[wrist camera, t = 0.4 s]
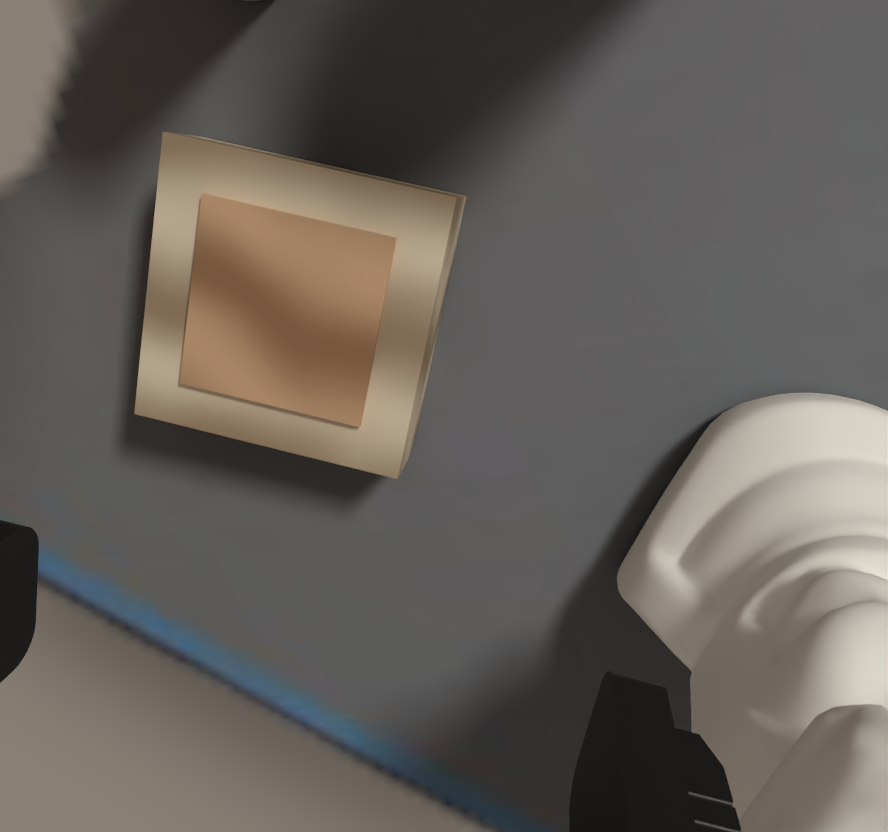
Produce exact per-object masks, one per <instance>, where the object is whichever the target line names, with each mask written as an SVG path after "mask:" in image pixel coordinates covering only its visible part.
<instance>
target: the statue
mask: <svg viewBox="0 0 888 832" xmlns="http://www.w3.org/2000/svg"><path fill="white" fill-rule="evenodd" d="M617 585H618V591H619V592H620V594H621V596H622V598H623V599H624V600H625V601H626V602H627V603H628V604H629V605H630V606H631V607H632V608H633V609H634V611H635V612H636V613H637V614H638V615H639V616H640V617H641V618H642V619H643V621H644V622H645V623H646V624H647V625H648V626H649V627H650V628H651V629H652V630H653V631H654V632H655V634H656V635H657V636H658V637H659V638H660V639H661V640H662V641H663V642H664V643H665V645H666V646H667V647H668V648H669V649H670V650H671V651H672V652H673V653H674V654H675V655H676V656H677V657H678V658H679V659H680V660H681V661H682V662H683V663H684V664H685V665H686V666H687V667H688V668H689V669H690V671H691V672H692V674H691V677H690V693H691V726H692V727H691V732H692V733H696V734H700V736H701V737H702V739H703V740H704V741H705V743H706V744H707V745H708V747H709V748H710V749H711V751H712V752H713V753H714V755H715V756H716V757H717V759H718V760H719V761H720V763H721V764H722V765H723V767H724V770H725V773H726V777H727V780H728V784H729V787H730V791H731V794H732V798H733V807H735V809H736V812H737V816H738V819H739V823H740V826H741V832H888V411H887V410H884V409H882V408H879V407H877V406H874V405H871V404H868V403H865V402H862V401H859V400H855V399H850V398H846V397H841V396H836V395H831V394H821V393H788V394H778V395H773V396H768V397H764V398H759V399H755V400H752V401H748V402H744V403H741V404H738V405H736V406H735V407H733V408H731V409H729V410H727V411H725V412H723V413H722V414H721V415H720V416H719V417H717V418H716V419H715V420H714V421H713V422H712V423H711V424H710V425H709V426H708V428H707V429H706V430H705V432H704V433H703V434H702V436H701V437H700V439H699V440H698V442H697V443H696V445H695V446H694V448H693V449H692V451H691V452H690V454H689V455H688V457H687V458H686V460H685V461H684V463H683V464H682V466H681V467H680V468H679V470H678V471H677V473H676V474H675V476H674V477H673V479H672V480H671V482H670V484H669V485H668V487H667V488H666V490H665V492H664V493H663V495H662V496H661V498H660V500H659V501H658V503H657V505H656V506H655V508H654V509H653V511H652V513H651V514H650V516H649V518H648V520H647V521H646V523H645V525H644V526H643V528H642V530H641V531H640V533H639V535H638V536H637V538H636V540H635V542H634V543H633V545H632V547H631V548H630V550H629V552H628V554H627V555H626V557H625V559H624V560H623V562H622V564H621V566H620V568H619V570H618V574H617Z"/></svg>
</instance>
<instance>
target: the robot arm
mask: <svg viewBox="0 0 888 832" xmlns="http://www.w3.org/2000/svg"><path fill="white" fill-rule="evenodd" d="M38 551H39V542H38V537H37V534H36V532H35V531H34V530H33V529H32V528H30V527H26V526H22V525H18V524H14V523H10V522H6V521H2V520H0V682H2V681H3V680H4V679H5V678H6V677H7V676H8V675H9V674H10V673H11V672H12V671H13V670H14V669H15V668H16V667H17V666H18V665H19V663H20V662H21V660H22V659H23V658H24V656H25V654H26V652H27V650H28V648H29V646H30V643H31V641H32V638H33V634H34V630H35V623H36V599H37V576H38ZM569 819H570V832H741V826H740V823H739V819H738V816H737V812H736V809H735V807H733V798H732V794H731V791H730V787H729V784H728V780H727V777H726V773H725V770H724V767H723V765H722V764H721V763H720V761H719V760H718V759H717V757H716V756H715V755H714V753H713V752H712V751H711V749H710V748H709V747H708V745H707V744H706V743H705V741H704V740H703V739H702V737H701V736H700V734H696V733H692V732H688V731H684V730H680V729H676V728H674V723H673V718H672V714H671V709H670V704H669V700H668V695H667V691H666V688H665V686H664V685H662V684H658V683H654V682H650V681H646V680H642V679H638V678H634V677H630V676H626V675H622V674H618V673H614V672H609V671H608V672H607V673H606V674H605V676H604V678H603V680H602V683H601V686H600V689H599V692H598V696H597V699H596V702H595V705H594V709H593V712H592V715H591V719H590V722H589V725H588V729H587V732H586V735H585V738H584V742H583V745H582V748H581V752H580V755H579V758H578V762H577V765H576V769H575V773H574V778H573V784H572V790H571V798H570V812H569Z"/></svg>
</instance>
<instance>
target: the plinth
mask: <svg viewBox="0 0 888 832" xmlns="http://www.w3.org/2000/svg"><path fill="white" fill-rule="evenodd" d="M466 197H467V196H463V195H459V194H455V193H450V192H446V191H441V190H437V189H432V188H428V187H423V186H419V185H415V184H410V183H406V182H401V181H397V180H392V179H388V178H383V177H379V176H374V175H370V174H366V173H361V172H357V171H352V170H348V169H343V168H339V167H334V166H330V165H326V164H321V163H317V162H312V161H308V160H303V159H299V158H294V157H290V156H285V155H281V154H277V153H272V152H268V151H263V150H259V149H254V148H250V147H245V146H241V145H237V144H232V143H228V142H223V141H219V140H214V139H210V138H205V137H199V136H192V135H185V134H177V133H170V132H163V135H162V144H161V154H160V164H159V174H158V184H157V194H156V204H155V214H154V223H153V233H152V243H151V253H150V263H149V273H148V283H147V293H146V303H145V312H144V322H143V332H142V342H141V352H140V362H139V372H138V382H137V391H136V401H135V411H134V414H137V415H141V416H145V417H149V418H153V419H157V420H161V421H165V422H169V423H173V424H177V425H181V426H185V427H189V428H193V429H197V430H201V431H205V432H209V433H213V434H217V435H221V436H225V437H229V438H233V439H237V440H242V441H246V442H250V443H254V444H258V445H262V446H266V447H270V448H274V449H278V450H282V451H286V452H290V453H294V454H298V455H302V456H306V457H310V458H314V459H318V460H322V461H326V462H330V463H334V464H338V465H342V466H346V467H350V468H354V469H358V470H363V471H367V472H371V473H375V474H379V475H383V476H387V477H391V478H395V479H398V477H399V475H400V474H401V472H402V470H403V468H404V466H405V464H406V462H407V460H408V458H409V456H410V454H411V452H412V450H413V446H414V441H415V437H416V432H417V427H418V423H419V418H420V413H421V409H422V404H423V399H424V394H425V390H426V385H427V380H428V376H429V371H430V366H431V362H432V357H433V352H434V348H435V343H436V338H437V333H438V329H439V324H440V319H441V315H442V310H443V305H444V301H445V296H446V291H447V287H448V282H449V277H450V272H451V268H452V263H453V258H454V254H455V249H456V244H457V240H458V235H459V230H460V225H461V221H462V216H463V211H464V207H465V202H466Z"/></svg>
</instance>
